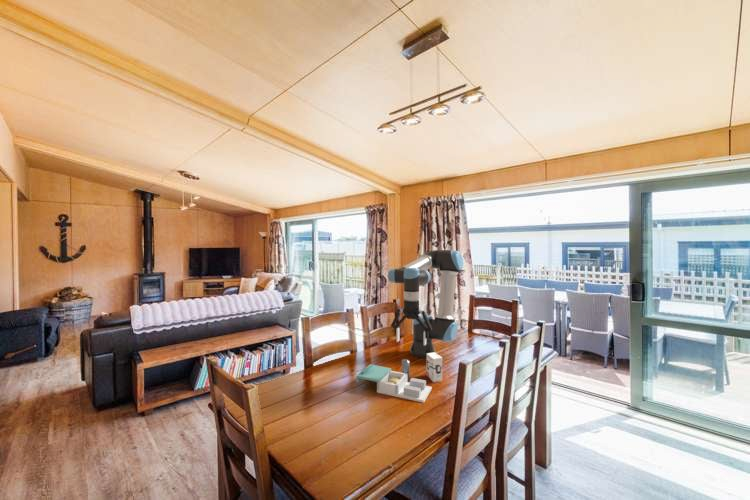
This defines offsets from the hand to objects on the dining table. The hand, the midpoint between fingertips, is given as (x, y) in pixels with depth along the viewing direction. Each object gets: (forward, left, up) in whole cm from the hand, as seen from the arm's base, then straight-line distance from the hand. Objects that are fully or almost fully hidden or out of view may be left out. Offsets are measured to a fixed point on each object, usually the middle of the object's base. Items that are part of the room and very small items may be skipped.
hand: (411, 343), depth 154 cm
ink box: (-9, +9, -20) cm, 24 cm away
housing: (+10, 0, -19) cm, 22 cm away
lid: (+10, -15, -16) cm, 24 cm away
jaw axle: (-3, -4, -19) cm, 20 cm away
